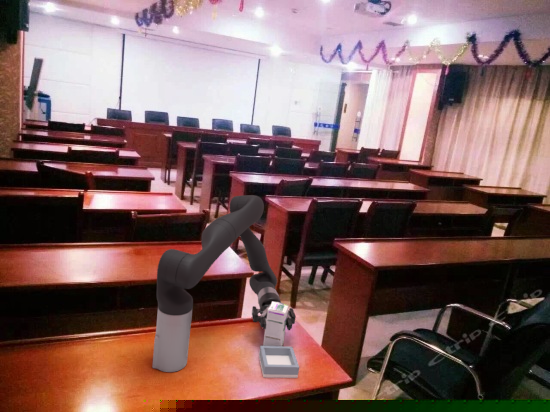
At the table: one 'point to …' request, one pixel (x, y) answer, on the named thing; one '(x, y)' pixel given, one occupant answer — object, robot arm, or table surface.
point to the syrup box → (275, 324)
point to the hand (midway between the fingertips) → (277, 327)
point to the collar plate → (278, 362)
